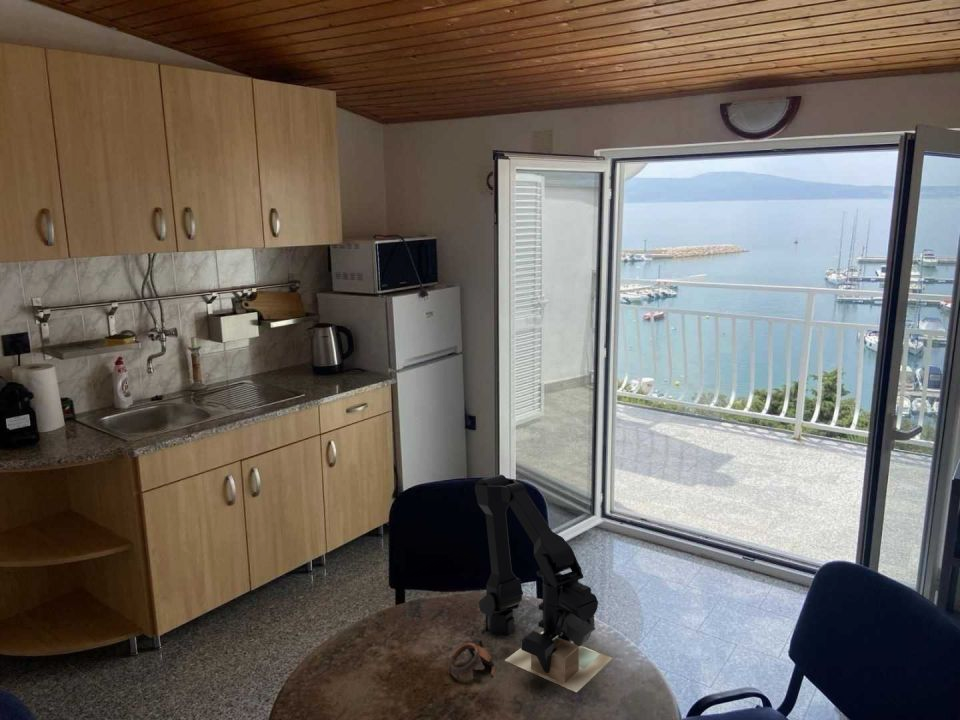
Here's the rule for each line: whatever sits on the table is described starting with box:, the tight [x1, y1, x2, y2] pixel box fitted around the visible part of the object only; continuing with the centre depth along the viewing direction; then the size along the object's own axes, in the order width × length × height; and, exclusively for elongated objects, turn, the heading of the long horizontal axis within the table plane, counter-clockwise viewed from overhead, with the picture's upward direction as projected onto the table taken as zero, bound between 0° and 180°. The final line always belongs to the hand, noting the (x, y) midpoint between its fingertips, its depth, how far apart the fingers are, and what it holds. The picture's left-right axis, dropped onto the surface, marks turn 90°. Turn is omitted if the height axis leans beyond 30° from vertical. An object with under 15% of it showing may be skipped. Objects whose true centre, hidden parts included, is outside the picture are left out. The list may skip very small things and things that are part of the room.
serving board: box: [504, 630, 613, 693], centre depth 162 cm, size 19×16×1 cm
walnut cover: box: [531, 637, 579, 684], centre depth 157 cm, size 9×6×7 cm
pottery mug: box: [449, 636, 496, 680], centre depth 158 cm, size 12×10×8 cm
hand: (554, 665), depth 157 cm, fingers closed on walnut cover, 6 cm apart
